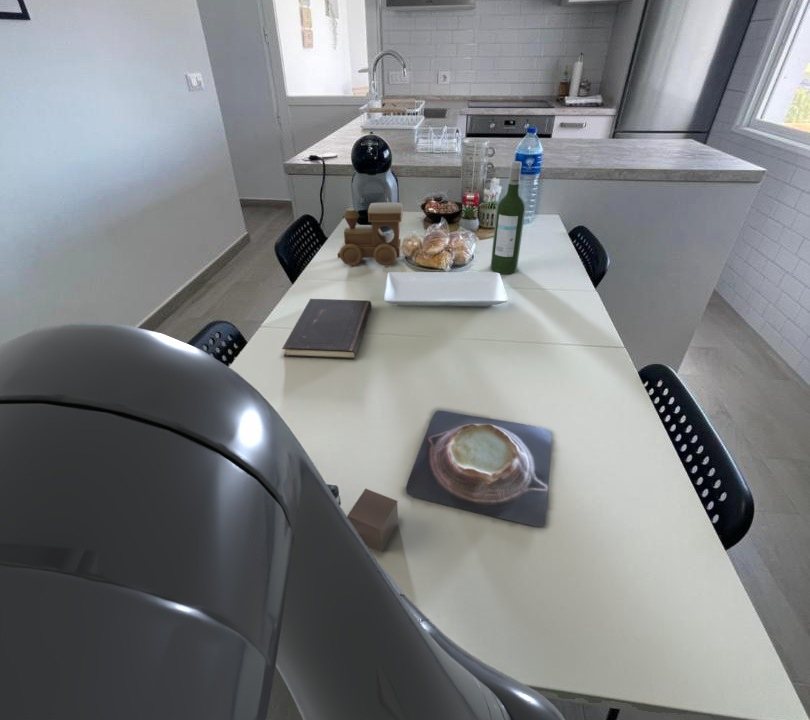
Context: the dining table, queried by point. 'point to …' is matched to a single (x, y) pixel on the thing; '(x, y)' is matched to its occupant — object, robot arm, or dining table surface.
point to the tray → (444, 289)
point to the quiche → (484, 467)
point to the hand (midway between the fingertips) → (244, 480)
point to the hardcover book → (329, 329)
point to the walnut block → (374, 518)
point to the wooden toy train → (372, 235)
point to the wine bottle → (508, 226)
